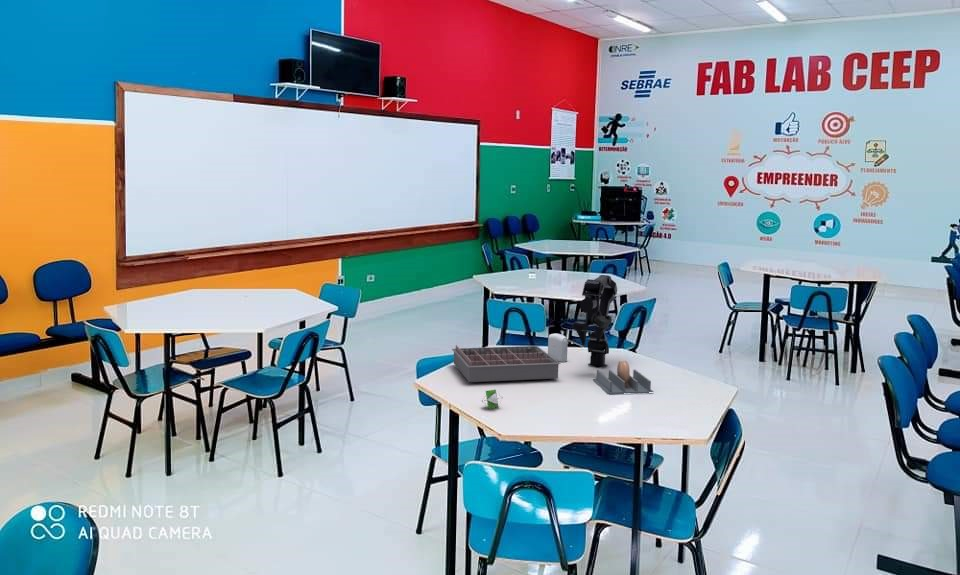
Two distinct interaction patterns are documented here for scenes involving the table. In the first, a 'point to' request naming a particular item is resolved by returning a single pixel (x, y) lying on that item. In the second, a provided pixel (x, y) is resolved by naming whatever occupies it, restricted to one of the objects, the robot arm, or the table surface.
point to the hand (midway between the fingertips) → (590, 343)
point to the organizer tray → (505, 363)
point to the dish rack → (623, 383)
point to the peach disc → (623, 371)
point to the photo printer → (558, 347)
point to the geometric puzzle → (492, 398)
